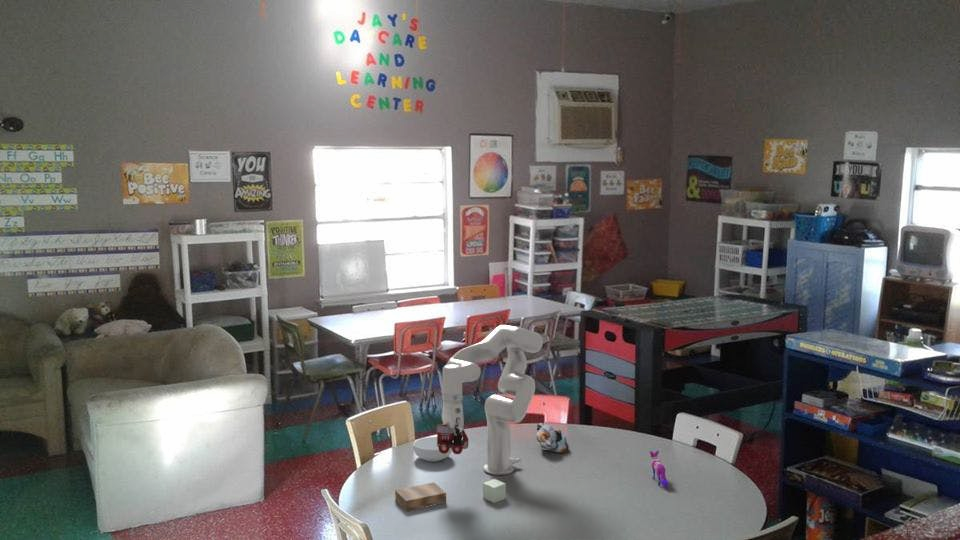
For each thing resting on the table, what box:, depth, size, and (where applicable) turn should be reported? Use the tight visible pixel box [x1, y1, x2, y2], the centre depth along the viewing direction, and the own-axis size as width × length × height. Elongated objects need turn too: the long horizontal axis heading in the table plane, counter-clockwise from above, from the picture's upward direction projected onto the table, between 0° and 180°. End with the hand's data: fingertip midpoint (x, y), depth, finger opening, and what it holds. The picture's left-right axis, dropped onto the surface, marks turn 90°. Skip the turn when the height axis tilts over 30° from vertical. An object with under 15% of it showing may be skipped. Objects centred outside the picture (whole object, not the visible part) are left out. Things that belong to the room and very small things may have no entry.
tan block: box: [394, 482, 447, 512], centre depth 298 cm, size 16×11×4 cm
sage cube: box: [482, 478, 507, 504], centre depth 301 cm, size 6×6×6 cm
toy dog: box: [649, 450, 669, 488], centre depth 316 cm, size 4×18×10 cm, turn 6°
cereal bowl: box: [412, 436, 453, 463], centre depth 341 cm, size 17×17×7 cm
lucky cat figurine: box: [535, 422, 570, 454], centre depth 351 cm, size 15×12×14 cm
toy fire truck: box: [435, 423, 469, 455], centre depth 304 cm, size 7×12×10 cm, turn 84°
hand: (452, 441), depth 304 cm, fingers closed on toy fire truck, 8 cm apart
